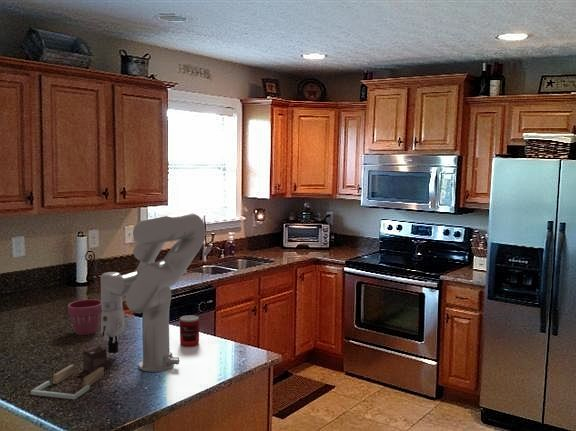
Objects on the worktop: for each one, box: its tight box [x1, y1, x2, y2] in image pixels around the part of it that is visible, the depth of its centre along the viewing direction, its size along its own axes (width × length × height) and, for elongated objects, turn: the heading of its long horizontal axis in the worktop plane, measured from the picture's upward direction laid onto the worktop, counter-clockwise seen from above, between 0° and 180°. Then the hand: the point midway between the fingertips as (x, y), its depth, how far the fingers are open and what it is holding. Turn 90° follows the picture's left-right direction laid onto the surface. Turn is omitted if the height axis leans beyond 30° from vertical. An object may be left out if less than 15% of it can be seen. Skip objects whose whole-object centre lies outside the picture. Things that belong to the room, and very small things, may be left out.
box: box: [82, 345, 108, 373], centre depth 205 cm, size 6×6×7 cm
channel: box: [52, 364, 105, 388], centre depth 195 cm, size 13×10×3 cm
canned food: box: [179, 314, 200, 348], centre depth 233 cm, size 8×8×11 cm
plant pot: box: [67, 298, 102, 336], centre depth 248 cm, size 14×14×13 cm
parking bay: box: [30, 380, 91, 400], centre depth 185 cm, size 16×8×1 cm, turn 77°
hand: (113, 352), depth 217 cm, fingers closed
